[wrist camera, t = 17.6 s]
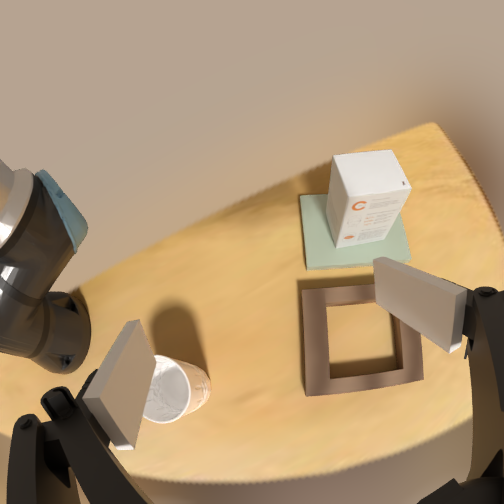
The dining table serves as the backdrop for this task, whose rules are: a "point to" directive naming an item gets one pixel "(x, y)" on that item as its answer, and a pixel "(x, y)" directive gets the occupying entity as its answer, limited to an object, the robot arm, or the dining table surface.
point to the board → (328, 257)
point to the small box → (364, 196)
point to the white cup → (175, 390)
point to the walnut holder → (319, 348)
